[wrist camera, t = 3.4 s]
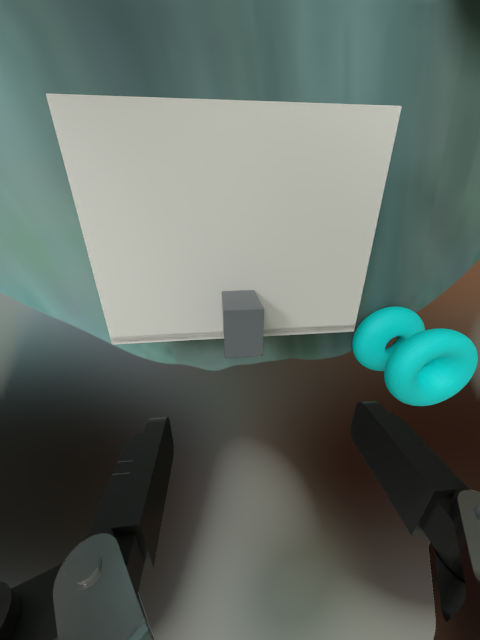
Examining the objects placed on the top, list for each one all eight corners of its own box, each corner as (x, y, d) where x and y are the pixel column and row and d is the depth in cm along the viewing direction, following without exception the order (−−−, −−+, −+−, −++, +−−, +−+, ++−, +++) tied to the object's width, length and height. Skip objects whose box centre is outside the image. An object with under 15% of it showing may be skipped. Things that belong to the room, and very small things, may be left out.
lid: (72, 113, 17) (-31, 37, 10) (375, 121, 20) (470, 63, 12) (123, 330, 25) (85, 376, 18) (339, 320, 27) (386, 357, 20)
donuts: (395, 420, 27) (396, 352, 23) (350, 370, 36) (345, 315, 32) (477, 397, 27) (493, 324, 23) (411, 353, 36) (414, 294, 32)
